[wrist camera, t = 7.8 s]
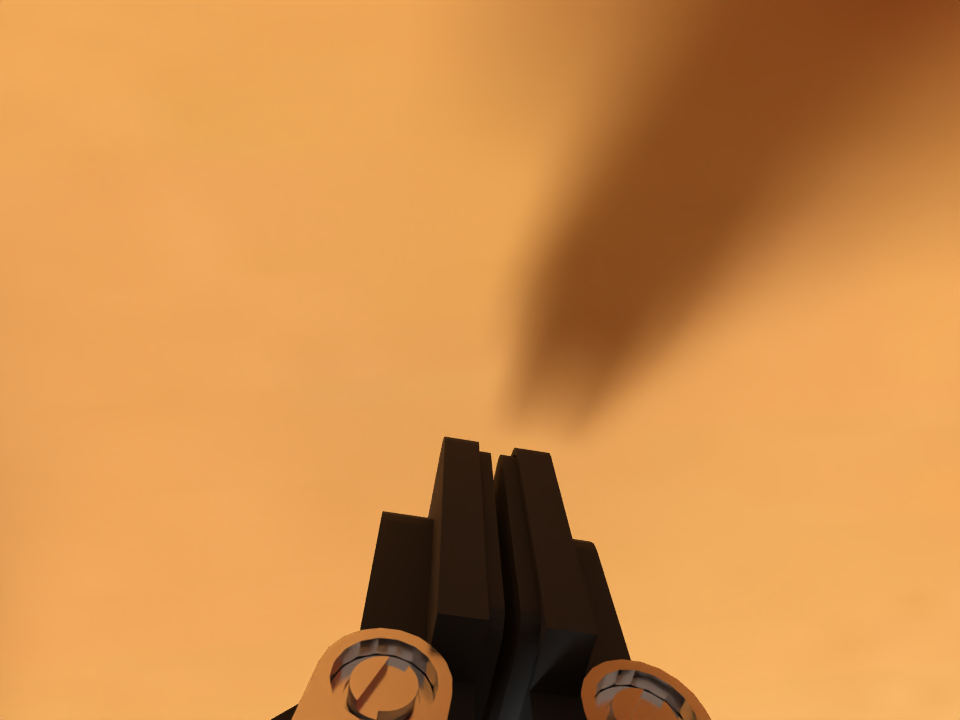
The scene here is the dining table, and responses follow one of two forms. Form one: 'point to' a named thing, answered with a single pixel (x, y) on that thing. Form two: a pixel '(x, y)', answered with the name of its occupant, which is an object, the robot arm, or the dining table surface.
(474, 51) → the dining table surface
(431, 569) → the robot arm
